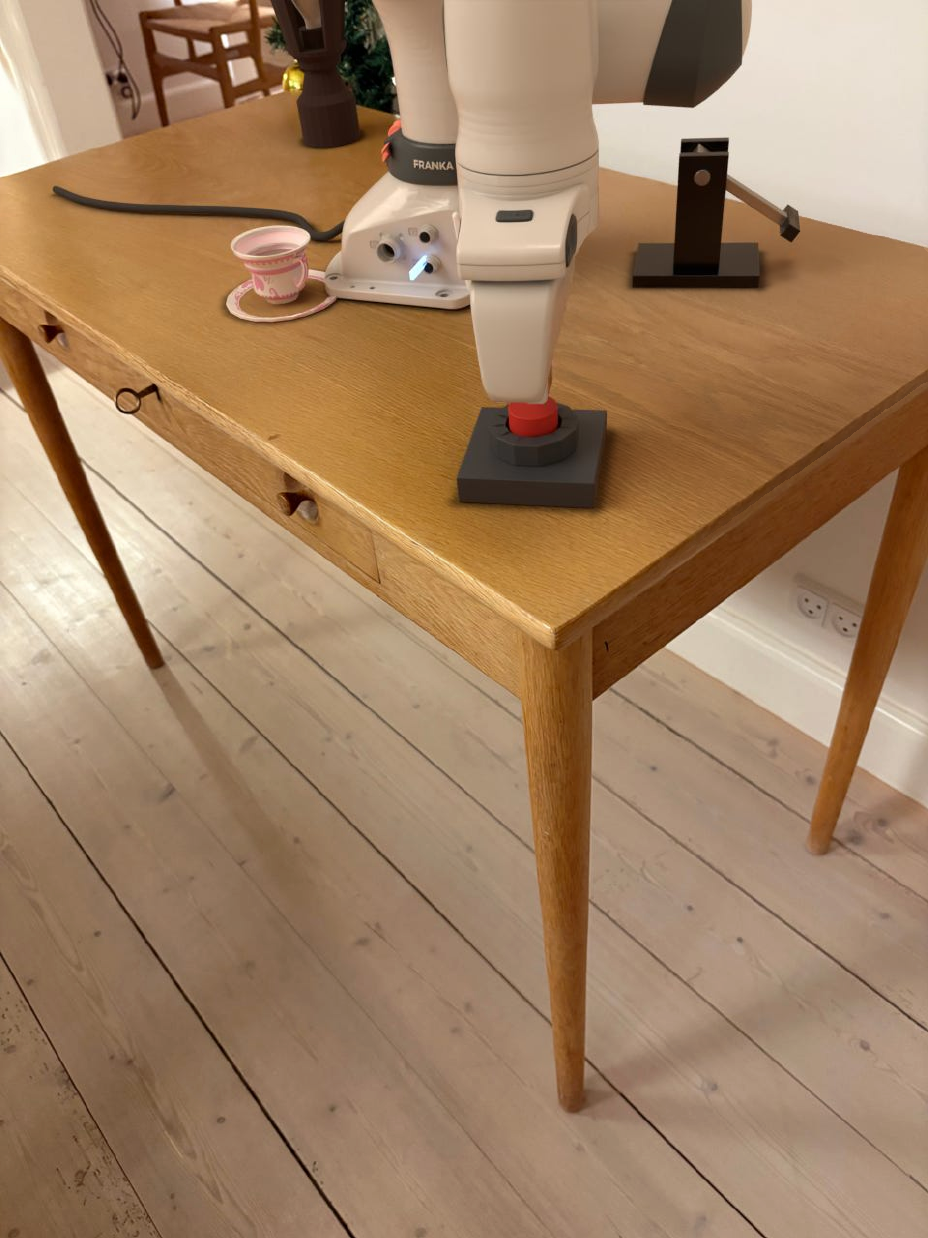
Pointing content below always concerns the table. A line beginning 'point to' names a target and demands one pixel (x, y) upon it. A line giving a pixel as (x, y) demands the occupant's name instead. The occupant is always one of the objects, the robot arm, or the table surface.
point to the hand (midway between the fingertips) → (538, 394)
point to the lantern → (319, 69)
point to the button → (533, 418)
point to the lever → (764, 206)
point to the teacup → (274, 269)
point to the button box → (534, 461)
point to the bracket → (699, 230)
